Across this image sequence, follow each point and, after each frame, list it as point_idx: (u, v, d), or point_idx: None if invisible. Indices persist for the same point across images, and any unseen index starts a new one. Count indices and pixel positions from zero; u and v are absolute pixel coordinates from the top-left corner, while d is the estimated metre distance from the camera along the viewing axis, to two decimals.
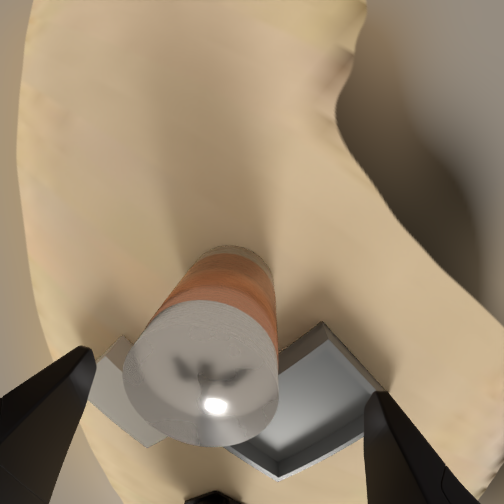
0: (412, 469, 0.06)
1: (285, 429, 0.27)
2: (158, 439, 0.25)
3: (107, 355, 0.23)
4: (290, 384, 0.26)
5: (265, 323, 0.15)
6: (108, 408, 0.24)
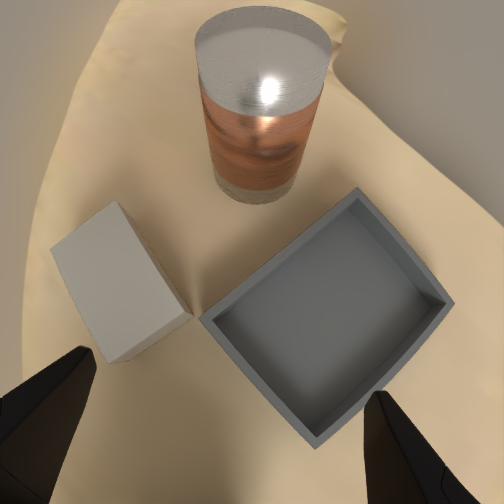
0: (412, 469, 0.06)
1: (320, 353, 0.21)
2: (132, 342, 0.18)
3: (117, 202, 0.21)
4: (321, 272, 0.22)
5: None
6: (81, 282, 0.19)
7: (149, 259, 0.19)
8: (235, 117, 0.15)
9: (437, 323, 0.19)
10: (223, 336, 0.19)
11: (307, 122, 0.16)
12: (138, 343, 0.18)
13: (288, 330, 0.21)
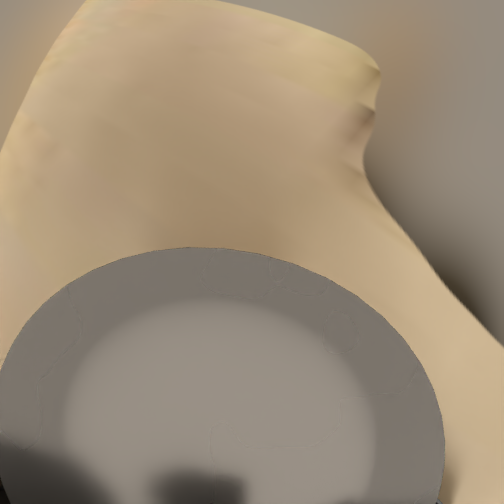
0: None
1: None
2: None
3: None
4: None
5: None
6: None
7: None
8: None
9: None
10: None
11: None
12: None
13: None
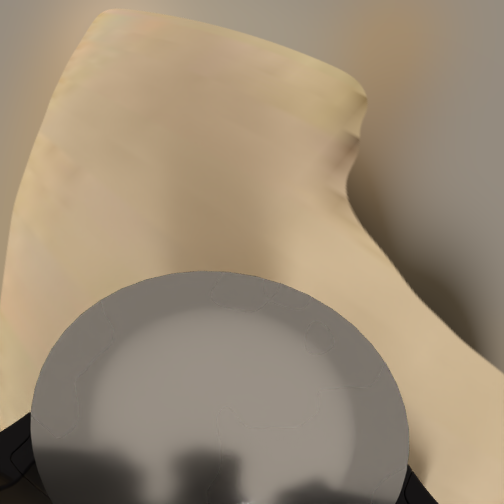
0: None
1: None
2: None
3: None
4: None
5: None
6: None
7: None
8: None
9: None
10: None
11: None
12: None
13: None
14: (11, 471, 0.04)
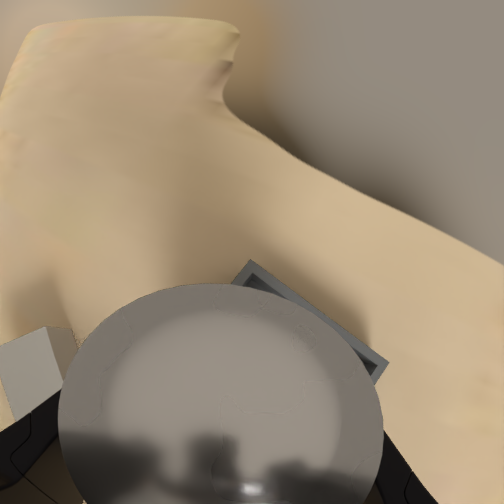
0: None
1: None
2: None
3: (47, 327, 0.18)
4: None
5: None
6: (15, 392, 0.16)
7: None
8: None
9: None
10: None
11: None
12: None
13: None
14: (11, 471, 0.04)
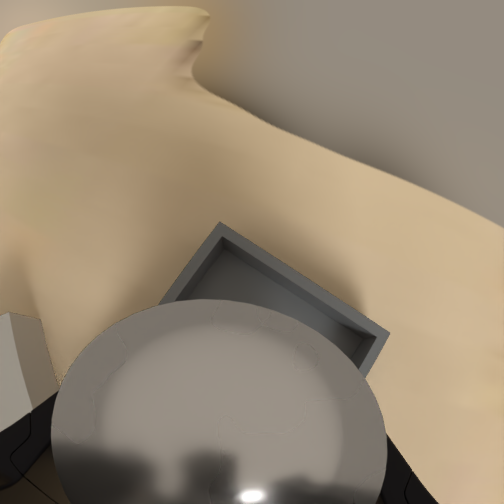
0: None
1: None
2: None
3: (11, 314, 0.15)
4: None
5: None
6: None
7: (27, 394, 0.14)
8: None
9: (368, 366, 0.16)
10: None
11: None
12: None
13: None
14: (11, 471, 0.04)
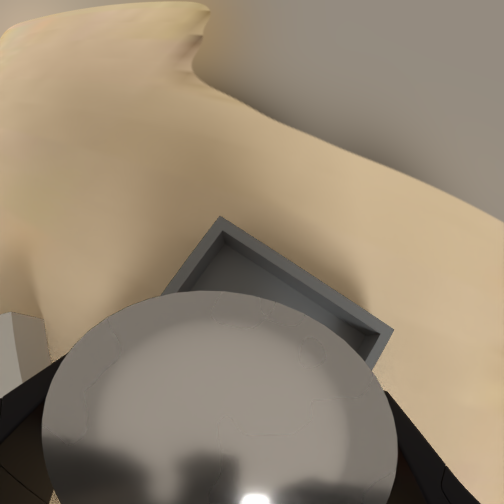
0: (412, 469, 0.06)
1: None
2: None
3: (13, 314, 0.15)
4: None
5: None
6: None
7: None
8: None
9: (372, 364, 0.15)
10: None
11: None
12: None
13: None
14: None
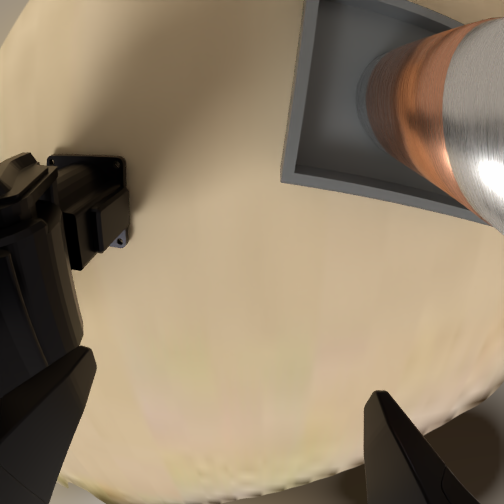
0: (412, 469, 0.06)
1: None
2: None
3: None
4: None
5: None
6: None
7: None
8: (435, 108, 0.07)
9: (471, 218, 0.16)
10: (316, 7, 0.12)
11: None
12: None
13: None
14: None
